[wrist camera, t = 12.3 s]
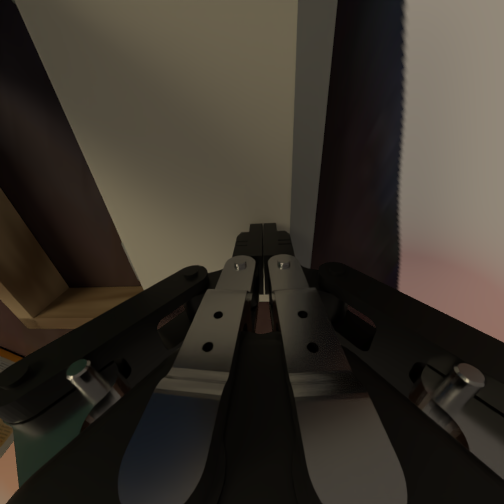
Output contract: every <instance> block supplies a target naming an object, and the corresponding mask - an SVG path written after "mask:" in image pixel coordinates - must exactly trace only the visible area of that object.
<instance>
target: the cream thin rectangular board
mask: <svg viewBox="0 0 504 504" xmlns="http://www.w3.org/2000/svg"><path fill="white" fill-rule="evenodd" d="M337 1H338V0H12V2H13V3H15V4H16V5H17V7H18V10H19V12H20V14H21V16H22V18H23V21H24V23H25V25H26V27H27V30H28V32H29V34H30V36H31V39H32V41H33V43H34V45H35V48H36V50H37V52H38V54H39V57H40V59H41V61H42V63H43V65H44V68H45V70H46V72H47V74H48V77H49V79H50V81H51V83H52V86H53V88H54V90H55V92H56V95H57V97H58V99H59V101H60V104H61V106H62V108H63V110H64V113H65V115H66V117H67V119H68V121H69V124H70V126H71V128H72V130H73V133H74V135H75V137H76V139H77V142H78V144H79V146H80V148H81V151H82V153H83V155H84V157H85V160H86V162H87V164H88V166H89V169H90V171H91V173H92V175H93V177H94V180H95V182H96V184H97V186H98V189H99V191H100V193H101V195H102V198H103V200H104V202H105V204H106V207H107V209H108V211H109V213H110V216H111V218H112V220H113V222H114V224H115V227H116V229H117V231H118V233H119V236H120V238H121V240H122V246H123V248H124V251H125V253H126V255H127V257H128V260H129V262H130V264H131V266H132V268H133V271H134V273H135V275H136V277H137V279H138V280H139V281H140V283H141V285H142V287H143V289H144V290H145V289H147V288H149V287H151V286H153V285H154V284H156V283H158V282H160V281H161V280H163V279H165V278H167V277H169V276H170V275H172V274H174V273H176V272H178V271H179V270H181V269H183V268H185V267H188V266H192V265H200V266H203V267H205V268H206V269H207V272H208V273H210V272H215V271H219V270H221V269H223V268H224V265H225V263H226V261H227V260H228V259H230V258H232V255H233V251H234V247H235V243H236V238H237V236H238V235H239V234H240V233H241V232H249V228H250V224H257V223H262V224H263V236H264V223H276V228H277V231H286V232H287V233H289V234H290V237H291V241H292V246H293V250H294V254H295V257H296V258H297V259H298V260H299V262H300V265H302V266H303V267H306V268H309V269H310V266H311V256H312V246H313V236H314V227H315V217H316V207H317V197H318V187H319V178H320V168H321V158H322V148H323V138H324V129H325V119H326V109H327V99H328V90H329V80H330V70H331V60H332V50H333V41H334V31H335V21H336V11H337ZM259 301H269V295H265V281H264V295H259Z"/></svg>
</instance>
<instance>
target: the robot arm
mask: <svg viewBox="0 0 504 504" xmlns="http://www.w3.org/2000/svg"><path fill="white" fill-rule="evenodd" d="M264 281H265V295H269V309H270V317H271V325H272V332H270V333H266V334H256V333H255V330H256V323H257V315H258V302H259V295H264ZM181 305H184V308H185V311H184V312H182V313H181V314H179V315H178V316H177V317H175V318H174V319H172V320H171V321H170V322H168V323H167V324H165V325H164V326H163V327H161V328H160V329H158V330H157V326H158V323H159V322H160V320H161V319H163V318H164V317H165V316H167V315H168V314H170V313H171V312H173V311H174V310H175V309H177V308H178V307H180V306H181ZM348 305H350V306H351V307H353V308H355V309H356V310H358V311H359V312H361V313H362V314H364V315H366V316H367V317H369V318H370V319H371V320H372V321H373V322H374V324H375V325H376V328H374V327H373V326H371V325H370V324H368V323H367V322H365V321H364V320H362V319H361V318H359V317H358V316H356V315H355V314H353V313H352V312H350V311H349V310H347V307H348ZM0 418H1V419H2V420H3V423H5V424H6V425H8V426H9V427H11V428H12V429H13V436H14V445H15V454H16V464H17V472H18V482H19V489H18V490H17V491H16V492H15V494H14V495H13V496H12V497H11V498H10V499H9V501H8V502H7V503H6V504H504V343H503V342H501V341H499V340H497V339H495V338H493V337H491V336H489V335H487V334H485V333H483V332H481V331H479V330H477V329H475V328H473V327H471V326H469V325H467V324H465V323H463V322H461V321H459V320H457V319H455V318H453V317H451V316H449V315H447V314H444V313H443V312H440V311H438V310H436V309H434V308H432V307H430V306H428V305H426V304H424V303H422V302H420V301H418V300H416V299H414V298H412V297H410V296H408V295H406V294H404V293H402V292H400V291H398V290H396V289H394V288H392V287H390V286H388V285H386V284H384V283H381V282H379V281H377V280H375V279H373V278H371V277H369V276H367V275H365V274H363V273H361V272H359V271H357V270H355V269H353V268H351V267H349V266H347V265H345V264H342V263H337V262H329V263H325V264H322V265H321V266H320V267H319V270H314V269H309V268H306V267H303V266H302V265H300V262H299V260H298V259H297V258H296V257H295V254H294V250H293V246H292V241H291V237H290V234H289V233H287V232H286V231H277V228H276V223H264V236H263V224H262V223H257V224H250V228H249V232H241V233H240V234H239V235H238V236H237V238H236V243H235V247H234V251H233V255H232V258H230V259H228V260H227V261H226V263H225V265H224V268H223V269H221V270H219V271H215V272H210V273H208V272H207V269H206V268H205V267H203V266H200V265H192V266H188V267H185V268H183V269H181V270H179V271H178V272H176V273H174V274H172V275H170V276H169V277H167V278H165V279H163V280H161V281H160V282H158V283H156V284H154V285H153V286H151V287H149V288H147V289H145V290H144V291H142V292H140V293H138V294H137V295H135V296H133V297H131V298H129V299H128V300H126V301H124V302H122V303H120V304H119V305H117V306H115V307H113V308H112V309H110V310H108V311H106V312H104V313H103V314H101V315H99V316H97V317H96V318H94V319H92V320H90V321H88V322H87V323H85V324H83V325H81V326H79V327H78V328H76V329H74V330H72V331H71V332H69V333H67V334H65V335H63V336H62V337H60V338H58V339H56V340H54V341H53V342H51V343H49V344H47V345H46V346H44V347H42V348H40V349H38V350H37V351H35V352H33V353H31V354H30V355H28V356H26V357H24V358H22V359H21V360H19V361H17V362H15V363H14V364H12V365H10V366H9V367H7V368H6V369H4V370H3V371H2V372H1V373H0Z"/></svg>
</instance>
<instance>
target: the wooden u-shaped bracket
mask: <svg viewBox="0 0 504 504" xmlns="http://www.w3.org/2000/svg"><path fill="white" fill-rule="evenodd" d="M142 291H144V289H143V287H142V286H136V287H79V288H69V287H68V285H67V284H66V282H65V281H64V279H63V278H62V276H61V275H60V273H59V272H58V271H57V269H56V268H55V266H54V265H53V263H52V262H51V260H50V259H49V258H48V256H47V255H46V253H45V252H44V250H43V249H42V247H41V246H40V244H39V243H38V242H37V240H36V239H35V237H34V236H33V234H32V233H31V231H30V230H29V229H28V227H27V226H26V224H25V223H24V221H23V220H22V218H21V217H20V215H19V214H18V213H17V211H16V210H15V208H14V207H13V205H12V204H11V202H10V201H9V200H8V198H7V197H6V195H5V194H4V192H3V191H2V189H1V188H0V299H1V300H2V301H3V303H4V304H5V305H6V306H7V307H8V308H9V309H10V310H11V311H12V312H13V313H14V314H15V315H16V316H17V317H18V318H19V319H20V320H21V321H22V322H23V323H24V325H25V326H26V327H27V328H28V329H76V328H78V327H79V326H81V325H83V324H85V323H87V322H88V321H90V320H92V319H94V318H96V317H97V316H99V315H101V314H103V313H104V312H106V311H108V310H110V309H112V308H113V307H115V306H117V305H119V304H120V303H122V302H124V301H126V300H128V299H129V298H131V297H133V296H135V295H137V294H138V293H140V292H142Z"/></svg>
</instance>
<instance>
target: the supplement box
mask: <svg viewBox="0 0 504 504" xmlns="http://www.w3.org/2000/svg"><path fill="white" fill-rule="evenodd" d="M21 359H22V357H20V356H18V355H15V354H13V353H11V352H9V351H6V350H4V349H1V348H0V373H1V372H2V371H3V370H4V369H6V368H7V367H9V366H10V365H12V364H14V363H15V362H17V361H19V360H21ZM13 441H14V436H13V429H12V428H11V427H9V426H8V425H6V424H5V423H3V420H2V419H1V418H0V458H1V457H2V456H3V454H4V453H5V452H6V450H7V449H8V448H9V447H10V445H11V444H12V443H13Z"/></svg>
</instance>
